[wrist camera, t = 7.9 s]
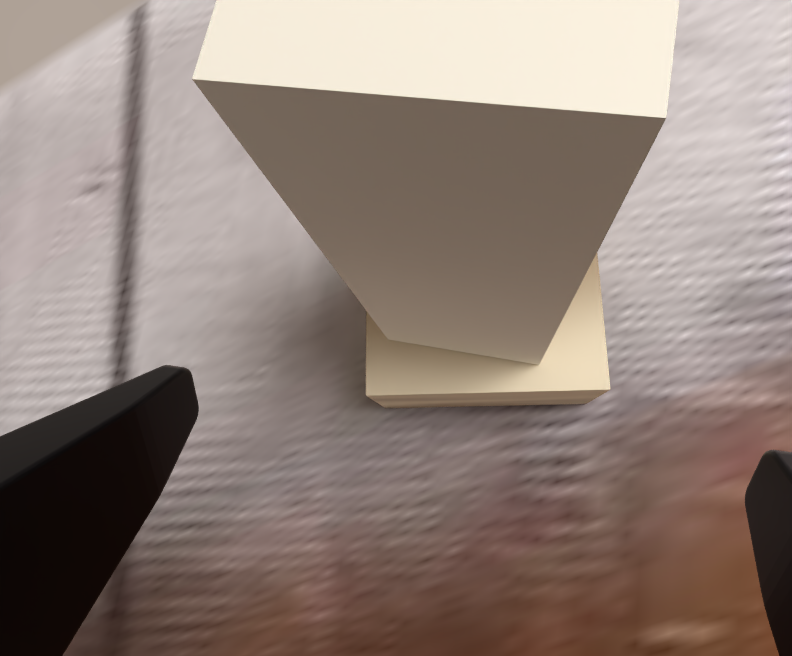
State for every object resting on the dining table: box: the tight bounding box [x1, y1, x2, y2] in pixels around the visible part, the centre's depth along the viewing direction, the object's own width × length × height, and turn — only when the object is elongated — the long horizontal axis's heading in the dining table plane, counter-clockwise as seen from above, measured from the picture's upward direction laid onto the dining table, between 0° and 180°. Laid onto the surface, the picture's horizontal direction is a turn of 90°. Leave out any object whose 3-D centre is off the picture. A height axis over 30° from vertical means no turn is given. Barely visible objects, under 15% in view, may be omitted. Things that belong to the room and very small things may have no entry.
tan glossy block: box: [366, 253, 610, 408], centre depth 19 cm, size 7×7×4 cm
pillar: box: [192, 0, 679, 365], centre depth 12 cm, size 4×4×12 cm
